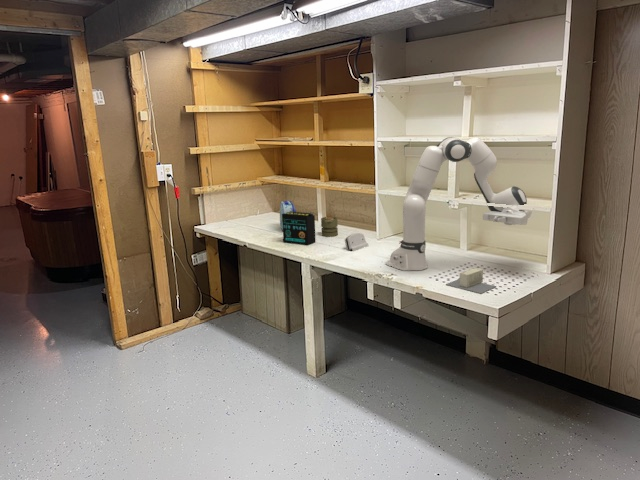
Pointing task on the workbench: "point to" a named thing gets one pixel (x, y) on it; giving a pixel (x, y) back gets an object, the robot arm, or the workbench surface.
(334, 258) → the workbench surface
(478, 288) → the mat
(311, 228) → the battery
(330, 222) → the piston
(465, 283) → the skincare box
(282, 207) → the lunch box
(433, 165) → the robot arm
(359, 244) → the hinge
